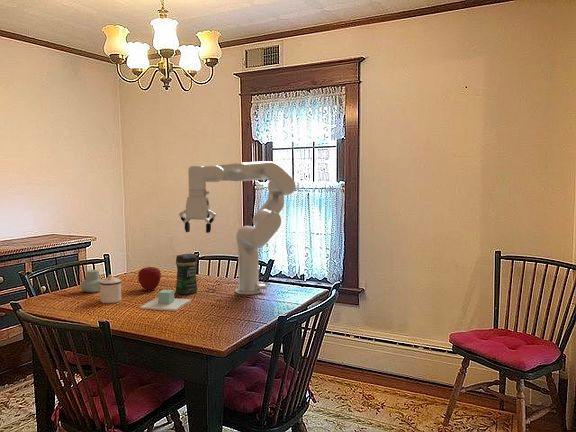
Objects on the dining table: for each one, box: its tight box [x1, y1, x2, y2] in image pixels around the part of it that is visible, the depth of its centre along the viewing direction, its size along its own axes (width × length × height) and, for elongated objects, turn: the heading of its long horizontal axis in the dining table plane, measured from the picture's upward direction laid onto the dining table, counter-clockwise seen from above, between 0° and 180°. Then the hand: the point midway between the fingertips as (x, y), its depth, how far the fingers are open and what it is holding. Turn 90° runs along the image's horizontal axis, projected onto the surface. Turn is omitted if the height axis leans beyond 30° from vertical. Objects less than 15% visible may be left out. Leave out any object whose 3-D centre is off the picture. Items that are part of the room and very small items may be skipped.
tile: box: [139, 296, 192, 312], centre depth 216 cm, size 16×16×1 cm
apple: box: [137, 266, 162, 292], centre depth 243 cm, size 11×11×12 cm
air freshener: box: [80, 269, 102, 294], centre depth 239 cm, size 11×8×10 cm
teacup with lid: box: [99, 274, 122, 304], centre depth 222 cm, size 12×9×12 cm
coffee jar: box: [175, 253, 198, 295], centre depth 236 cm, size 10×8×19 cm
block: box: [157, 289, 175, 304], centre depth 215 cm, size 5×5×5 cm
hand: (197, 232), depth 223 cm, fingers open, 9 cm apart
